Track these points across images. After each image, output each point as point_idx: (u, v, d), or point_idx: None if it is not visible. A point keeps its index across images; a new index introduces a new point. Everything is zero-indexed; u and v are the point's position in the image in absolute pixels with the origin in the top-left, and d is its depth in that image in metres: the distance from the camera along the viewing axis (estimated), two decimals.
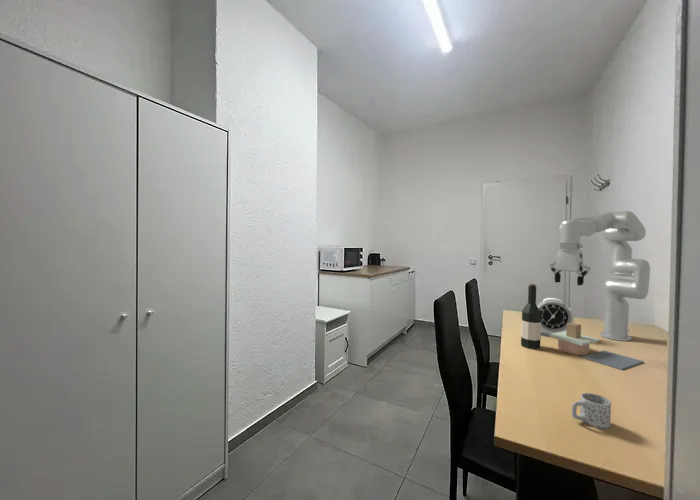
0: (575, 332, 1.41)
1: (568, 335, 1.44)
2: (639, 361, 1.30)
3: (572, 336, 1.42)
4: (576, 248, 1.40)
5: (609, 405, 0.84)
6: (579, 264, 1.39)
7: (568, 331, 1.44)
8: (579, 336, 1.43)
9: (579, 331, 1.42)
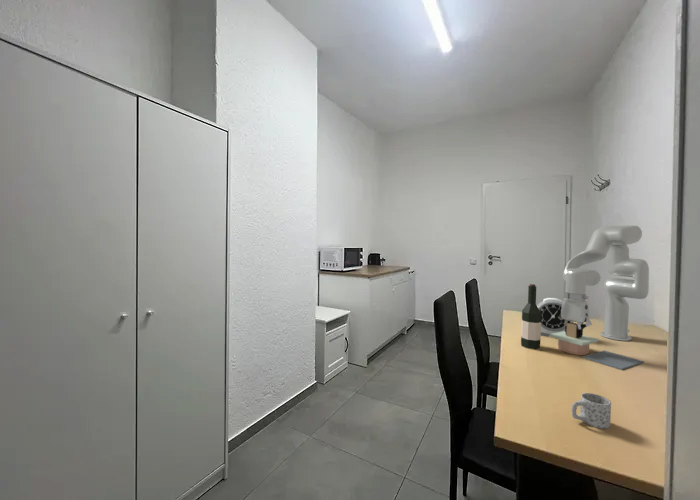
0: (575, 332, 1.41)
1: (568, 335, 1.44)
2: (639, 361, 1.30)
3: (572, 336, 1.42)
4: (581, 299, 1.40)
5: (609, 405, 0.84)
6: (584, 315, 1.39)
7: (568, 331, 1.44)
8: None
9: None
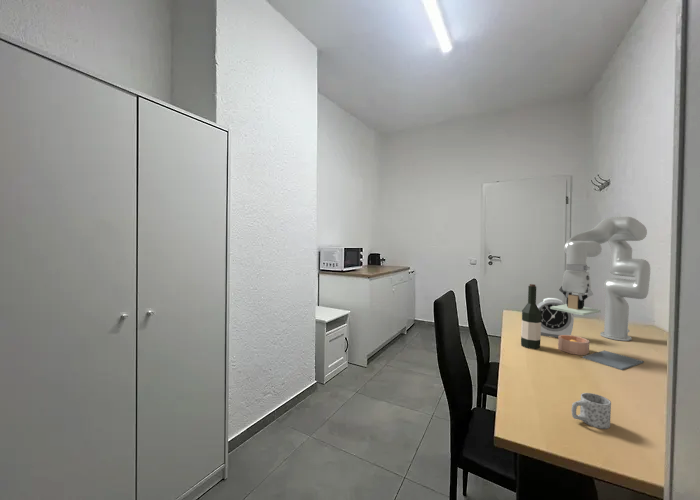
0: (576, 303, 1.41)
1: (569, 307, 1.44)
2: (639, 361, 1.30)
3: (573, 307, 1.42)
4: (583, 270, 1.39)
5: (609, 405, 0.84)
6: (586, 286, 1.38)
7: (569, 303, 1.44)
8: None
9: None
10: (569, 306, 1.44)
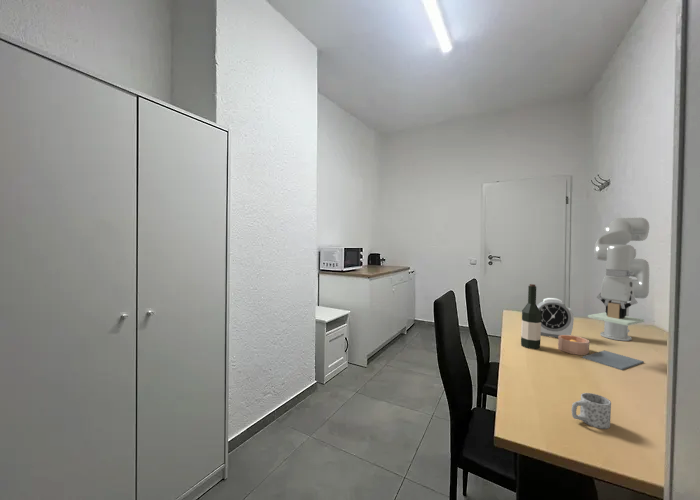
0: (618, 312, 1.30)
1: (609, 315, 1.33)
2: (639, 361, 1.30)
3: (614, 316, 1.31)
4: (625, 276, 1.28)
5: (609, 405, 0.84)
6: (629, 293, 1.27)
7: (609, 311, 1.33)
8: None
9: None
10: (609, 315, 1.33)
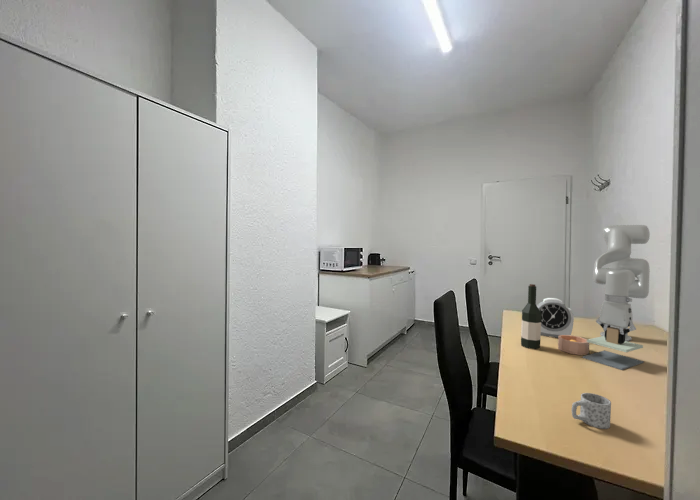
0: (617, 337, 1.30)
1: (608, 341, 1.33)
2: (639, 361, 1.30)
3: (613, 342, 1.31)
4: (624, 302, 1.29)
5: (609, 405, 0.84)
6: (628, 320, 1.28)
7: (608, 336, 1.33)
8: None
9: None
10: (608, 340, 1.33)
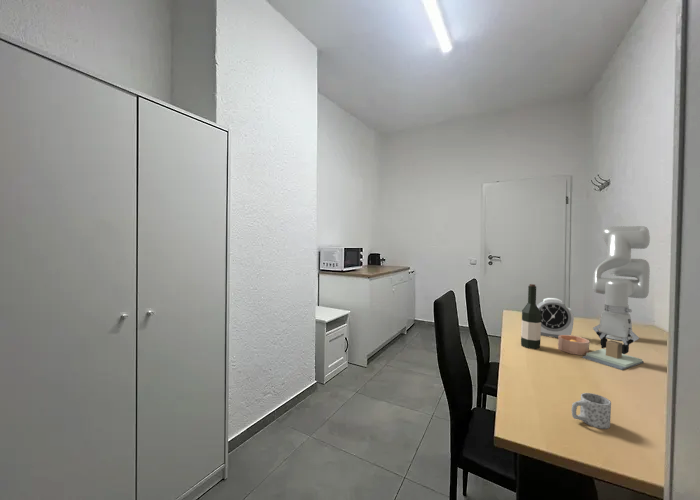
0: (616, 351, 1.31)
1: (608, 354, 1.33)
2: None
3: (613, 356, 1.32)
4: (624, 312, 1.29)
5: (609, 405, 0.84)
6: (627, 330, 1.28)
7: (608, 350, 1.33)
8: (620, 356, 1.32)
9: (620, 350, 1.32)
10: (607, 354, 1.34)
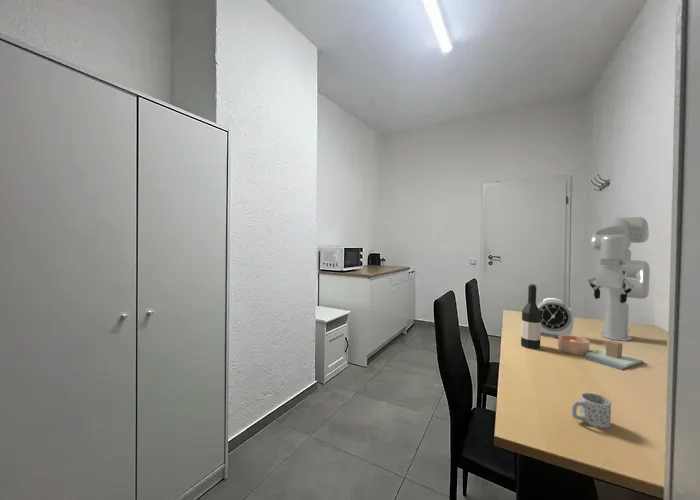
0: (616, 351, 1.31)
1: (608, 354, 1.33)
2: None
3: (613, 356, 1.32)
4: (619, 265, 1.36)
5: (609, 405, 0.84)
6: (622, 281, 1.35)
7: (608, 350, 1.33)
8: (620, 356, 1.32)
9: (620, 350, 1.32)
10: (607, 354, 1.34)
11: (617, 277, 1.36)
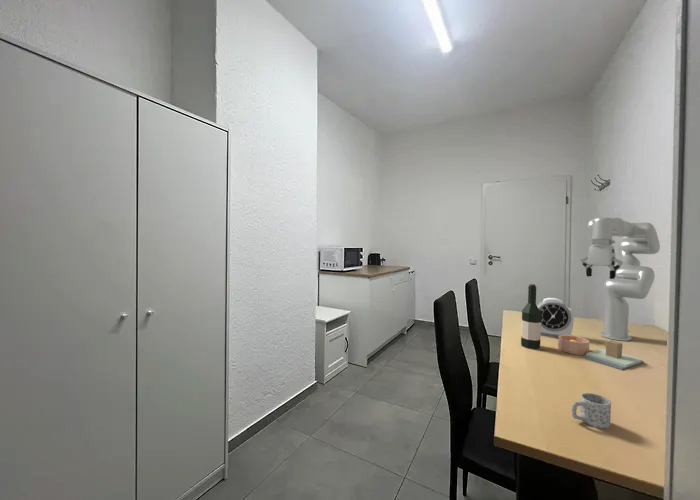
0: (616, 351, 1.31)
1: (608, 354, 1.33)
2: None
3: (613, 356, 1.32)
4: (608, 244, 1.48)
5: (609, 405, 0.84)
6: (611, 259, 1.47)
7: (608, 350, 1.33)
8: (620, 356, 1.32)
9: (620, 350, 1.32)
10: (607, 354, 1.34)
11: (607, 255, 1.48)
